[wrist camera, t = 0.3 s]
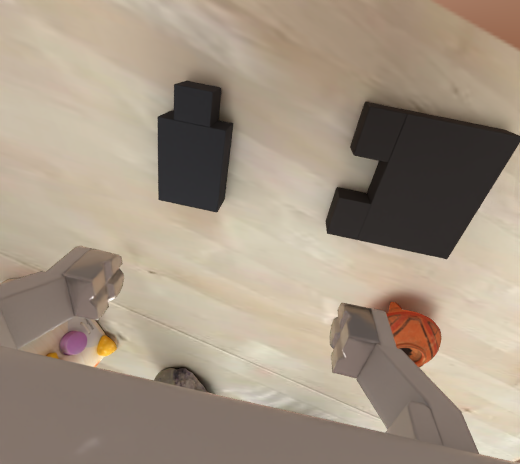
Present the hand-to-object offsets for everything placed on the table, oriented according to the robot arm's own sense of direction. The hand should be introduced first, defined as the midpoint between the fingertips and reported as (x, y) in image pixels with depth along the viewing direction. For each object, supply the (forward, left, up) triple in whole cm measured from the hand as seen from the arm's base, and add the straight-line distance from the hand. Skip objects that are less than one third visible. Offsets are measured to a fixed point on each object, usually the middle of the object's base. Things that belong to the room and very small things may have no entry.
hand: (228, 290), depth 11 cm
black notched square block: (+1, +13, -21) cm, 24 cm away
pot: (+18, +19, -21) cm, 33 cm away
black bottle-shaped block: (+2, -7, -21) cm, 22 cm away
